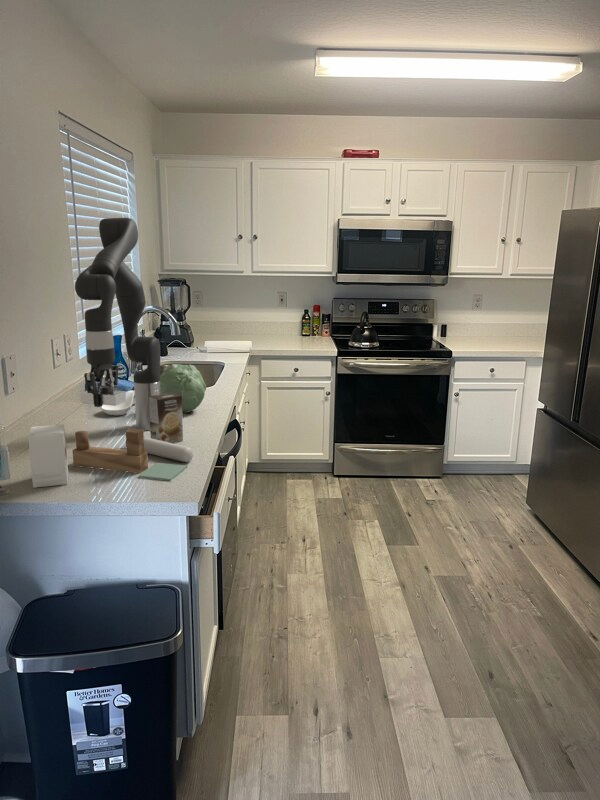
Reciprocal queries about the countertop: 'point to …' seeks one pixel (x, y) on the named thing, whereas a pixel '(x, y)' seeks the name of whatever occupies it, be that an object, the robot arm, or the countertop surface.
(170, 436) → the coffee box
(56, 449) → the supplement box
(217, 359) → the countertop surface
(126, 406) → the spoon rest
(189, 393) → the cabbage
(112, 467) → the body
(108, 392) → the lever cap
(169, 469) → the mat
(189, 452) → the tube
